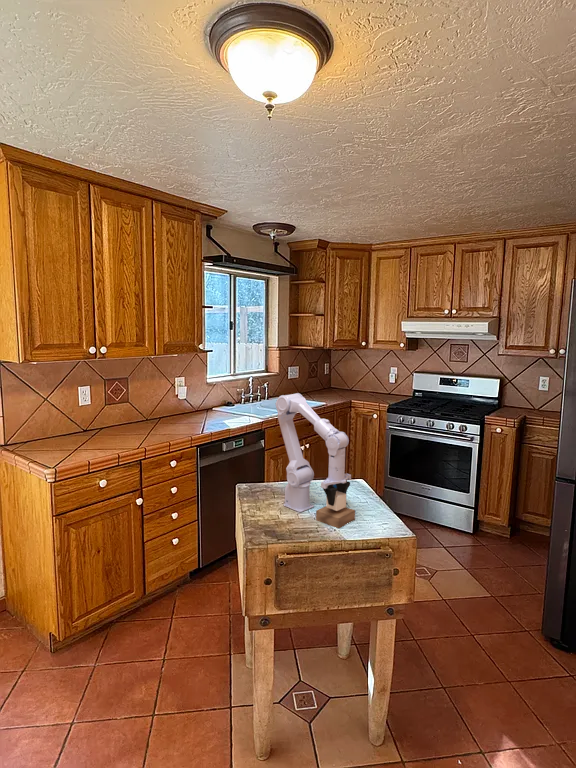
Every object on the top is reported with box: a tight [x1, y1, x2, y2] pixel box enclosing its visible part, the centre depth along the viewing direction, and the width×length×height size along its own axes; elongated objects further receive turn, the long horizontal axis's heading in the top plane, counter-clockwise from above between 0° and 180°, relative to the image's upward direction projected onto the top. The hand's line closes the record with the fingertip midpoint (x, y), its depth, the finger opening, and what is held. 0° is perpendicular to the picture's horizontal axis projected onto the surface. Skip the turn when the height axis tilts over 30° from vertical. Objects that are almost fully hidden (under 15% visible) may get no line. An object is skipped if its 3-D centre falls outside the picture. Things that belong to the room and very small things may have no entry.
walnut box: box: [315, 506, 356, 529], centre depth 163 cm, size 10×10×4 cm
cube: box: [325, 491, 347, 511], centre depth 163 cm, size 5×5×5 cm
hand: (335, 502), depth 163 cm, fingers closed on cube, 5 cm apart
